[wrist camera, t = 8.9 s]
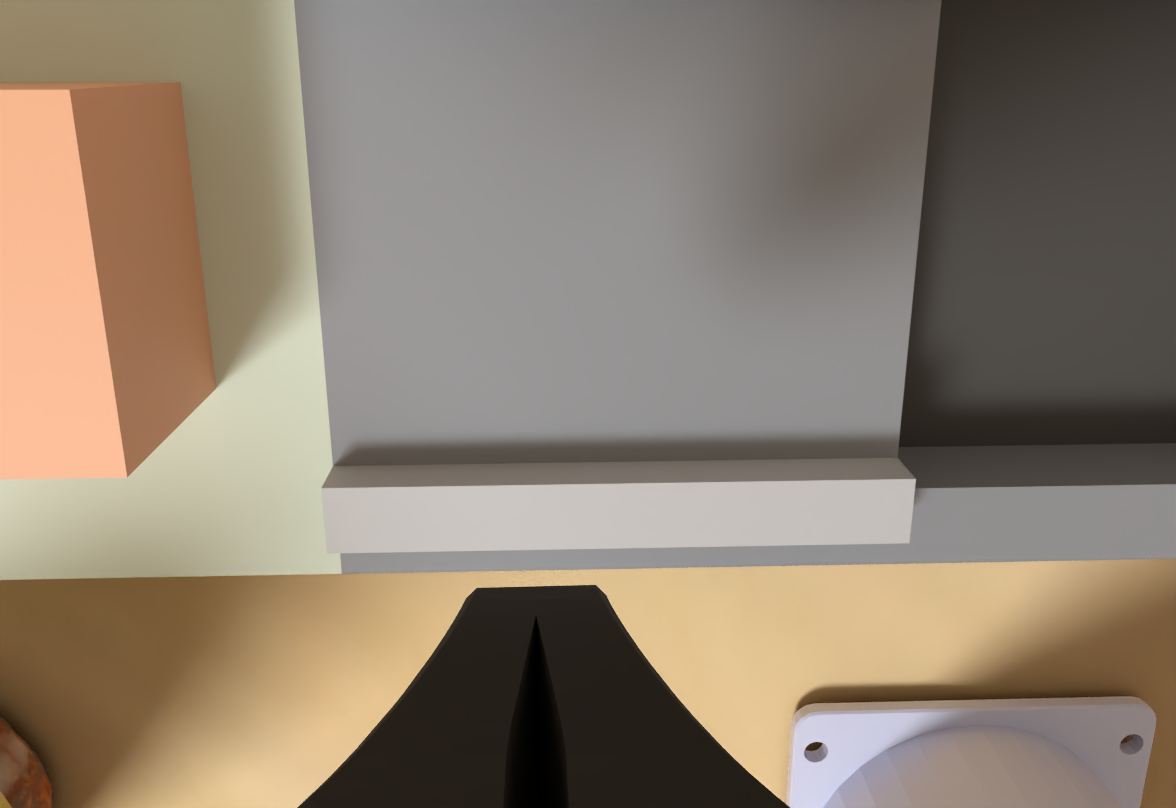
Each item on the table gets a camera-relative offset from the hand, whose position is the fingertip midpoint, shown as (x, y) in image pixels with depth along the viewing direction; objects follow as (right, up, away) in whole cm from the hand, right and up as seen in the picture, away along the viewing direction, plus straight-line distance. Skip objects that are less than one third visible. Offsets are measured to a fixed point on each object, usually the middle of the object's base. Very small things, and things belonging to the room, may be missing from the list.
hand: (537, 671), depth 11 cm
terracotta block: (-8, +5, +6) cm, 12 cm away
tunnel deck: (+3, +6, +9) cm, 11 cm away
